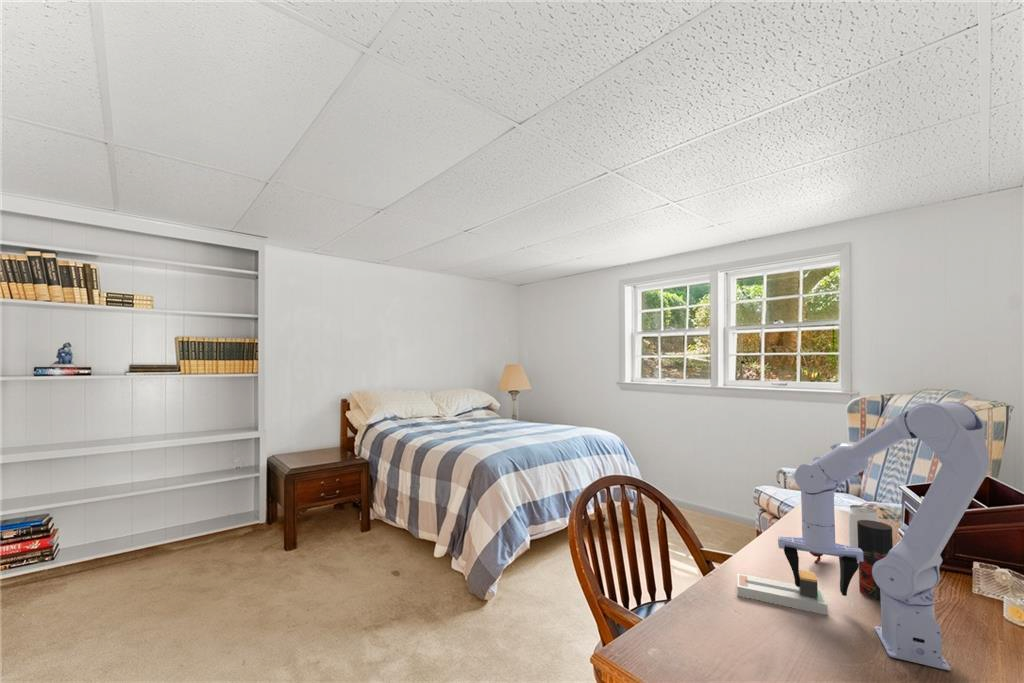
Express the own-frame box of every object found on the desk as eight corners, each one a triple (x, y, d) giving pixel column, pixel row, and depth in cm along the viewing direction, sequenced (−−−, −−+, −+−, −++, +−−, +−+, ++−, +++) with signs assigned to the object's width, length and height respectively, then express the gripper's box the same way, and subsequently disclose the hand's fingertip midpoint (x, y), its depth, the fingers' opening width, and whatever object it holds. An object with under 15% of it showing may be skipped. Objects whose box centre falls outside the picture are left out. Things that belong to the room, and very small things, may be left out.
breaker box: (827, 615, 89) (827, 604, 89) (737, 596, 96) (737, 586, 96) (821, 598, 95) (821, 588, 96) (737, 582, 103) (737, 572, 103)
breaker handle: (817, 597, 91) (817, 580, 91) (800, 594, 93) (799, 577, 93) (814, 588, 95) (814, 572, 95) (797, 585, 96) (797, 569, 96)
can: (878, 553, 119) (876, 507, 120) (882, 562, 114) (880, 513, 114) (848, 547, 123) (846, 503, 123) (850, 556, 117) (848, 509, 118)
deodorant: (901, 603, 94) (898, 530, 95) (869, 600, 95) (866, 528, 96) (884, 589, 100) (881, 521, 100) (853, 587, 101) (851, 519, 101)
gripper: (856, 521, 94) (858, 588, 93) (776, 511, 100) (777, 573, 100) (865, 532, 88) (867, 604, 87) (778, 521, 94) (780, 587, 93)
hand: (820, 589), depth 93 cm, fingers open, 7 cm apart
